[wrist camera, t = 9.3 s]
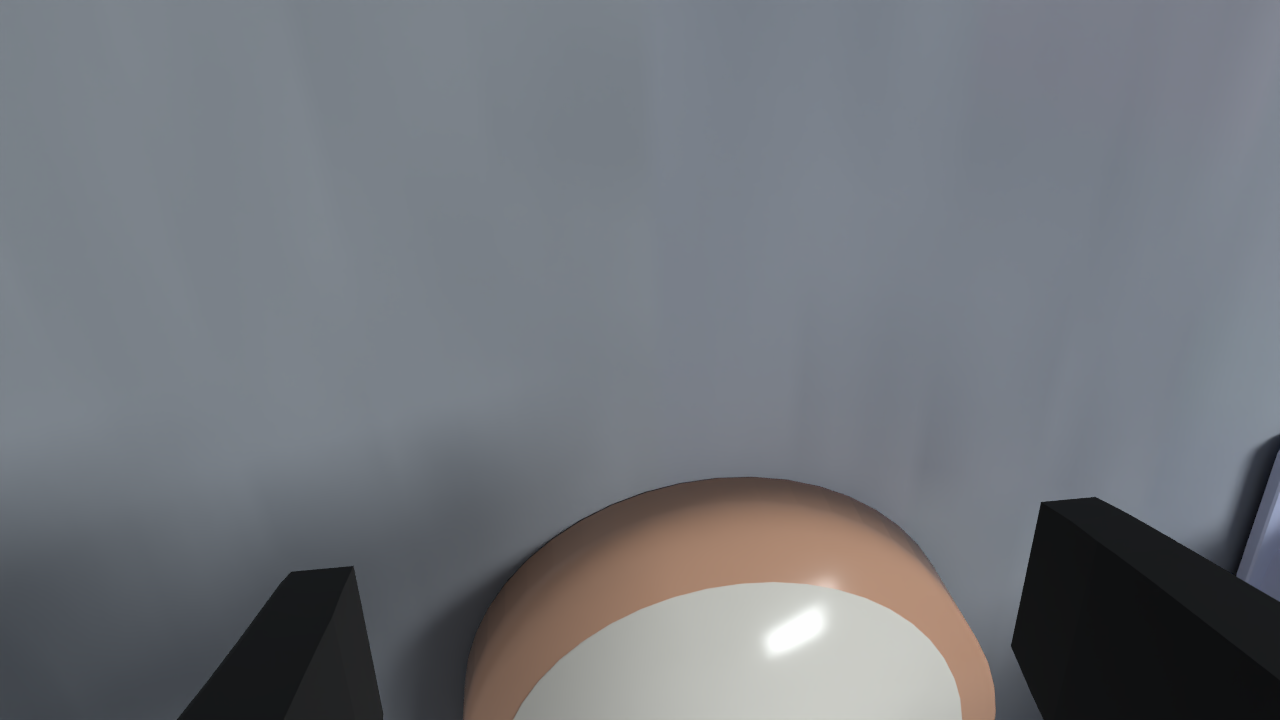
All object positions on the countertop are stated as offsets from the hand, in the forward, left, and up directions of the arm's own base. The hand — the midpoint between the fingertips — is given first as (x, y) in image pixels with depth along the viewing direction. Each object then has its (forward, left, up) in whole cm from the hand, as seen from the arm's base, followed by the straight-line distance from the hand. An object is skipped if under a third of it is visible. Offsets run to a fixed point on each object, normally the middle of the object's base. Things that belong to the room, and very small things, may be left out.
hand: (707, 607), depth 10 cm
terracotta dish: (-2, +11, -9) cm, 15 cm away
